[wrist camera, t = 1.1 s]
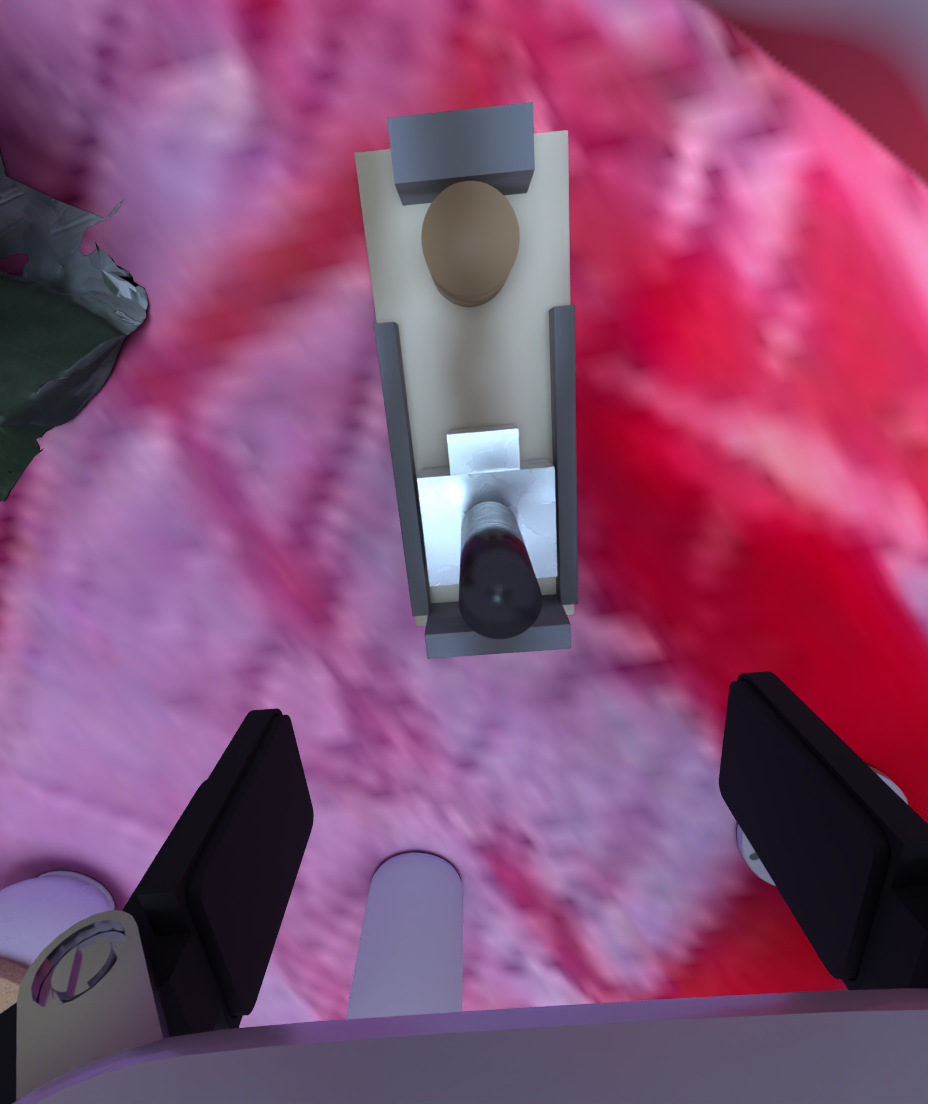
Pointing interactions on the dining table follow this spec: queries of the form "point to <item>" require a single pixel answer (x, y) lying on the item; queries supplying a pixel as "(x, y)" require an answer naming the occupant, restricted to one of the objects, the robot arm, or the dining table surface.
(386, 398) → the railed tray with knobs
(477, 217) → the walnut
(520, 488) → the ram
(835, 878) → the robot arm
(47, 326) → the rose bouquet
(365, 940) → the milk bottle
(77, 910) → the lidded bowl
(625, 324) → the dining table surface
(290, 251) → the dining table surface
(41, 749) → the dining table surface
